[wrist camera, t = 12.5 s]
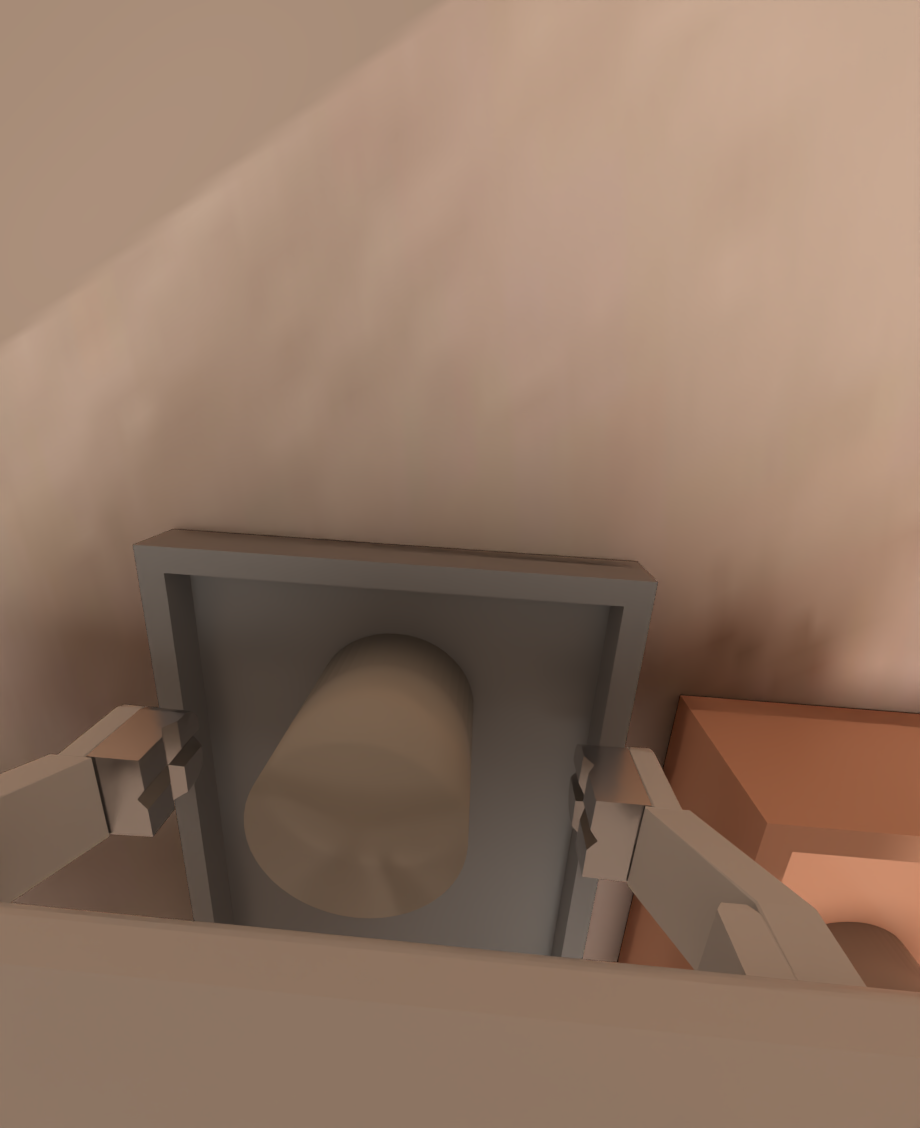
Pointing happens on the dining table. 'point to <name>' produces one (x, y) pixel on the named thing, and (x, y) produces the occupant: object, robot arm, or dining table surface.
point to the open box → (802, 808)
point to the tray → (458, 627)
